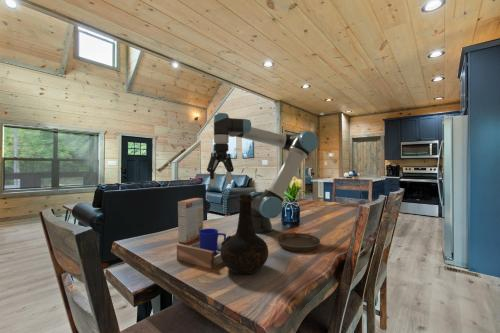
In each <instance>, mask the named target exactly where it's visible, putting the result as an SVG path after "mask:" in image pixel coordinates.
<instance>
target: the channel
mask: <svg viewBox="0 0 500 333" xmlns="http://www.w3.org/2000/svg"><path fill="white" fill-rule="evenodd" d="M176 260H178V261H180V262H181V261H182V262H185V263H187V264H193V265H197V266H200V267H203V268H208V269H214V268H215V267H217V266H218V265H220V264H222V263H224V262H223V260H222V258H221V252H219V254H217V255H215V254H214V251H210V250H205V249H201V248H200V241H197V242H195V243H193V244H191V245H186V244H183V243H177V244H176Z"/></svg>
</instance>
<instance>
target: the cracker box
mask: <svg viewBox="0 0 500 333" xmlns="http://www.w3.org/2000/svg"><path fill="white" fill-rule="evenodd" d="M177 220H178V221H177V224H178V225H177V227H178V228H177V230H178V232H177V233H178V236H177V237H178V243H180V244H189V243H191V242H193V241H196V240H197V239H199V231H200V230H202V229H204V199H203V197H202V198H201V197H193V198H188V199H184V200H180V201H177Z"/></svg>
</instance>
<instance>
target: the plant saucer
mask: <svg viewBox="0 0 500 333" xmlns="http://www.w3.org/2000/svg"><path fill="white" fill-rule="evenodd" d="M276 241H277V243H278V244H279V245H280V246H281V247H282V248H283V249H286V250H289V251H293V252H309V251H314V250H315V249H316V248H317V247H318V246H319V244H320V243H321V240H320V239H319V237H317V236H314V235H311V234H307V233H301V232H300V233H299V232H290V233H289V232H288V233H283V234H280V235H278V236H277V237H276Z"/></svg>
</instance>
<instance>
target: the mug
mask: <svg viewBox="0 0 500 333" xmlns="http://www.w3.org/2000/svg"><path fill="white" fill-rule="evenodd" d="M219 236H223V241H224V240H225V238H227V233H223V232H219V230H218V229H217V228H203V229H202V230H200V231H199V238H198V239H199V242H200V248H201V249H205V250H210V251H214V255H215V254H216V253H217V252H221V248H218V242H219V240H218V239H219Z"/></svg>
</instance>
